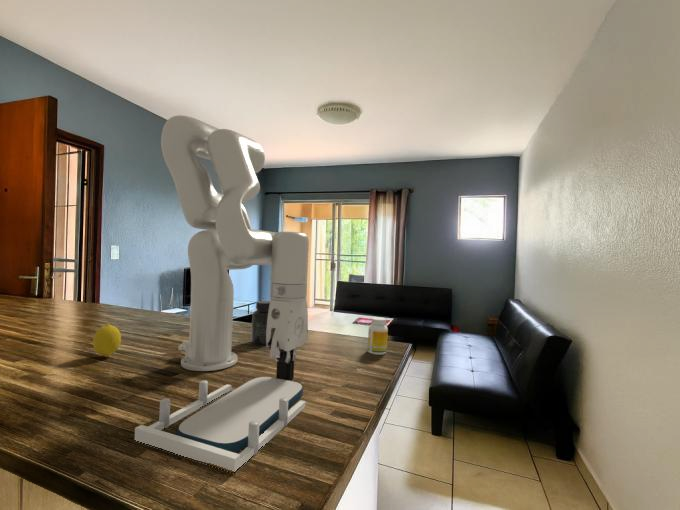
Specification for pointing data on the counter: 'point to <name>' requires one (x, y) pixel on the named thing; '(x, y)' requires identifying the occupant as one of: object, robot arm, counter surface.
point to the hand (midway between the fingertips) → (284, 379)
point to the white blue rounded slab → (240, 413)
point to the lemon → (106, 340)
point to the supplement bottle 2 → (377, 336)
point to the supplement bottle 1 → (260, 323)
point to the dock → (204, 451)
